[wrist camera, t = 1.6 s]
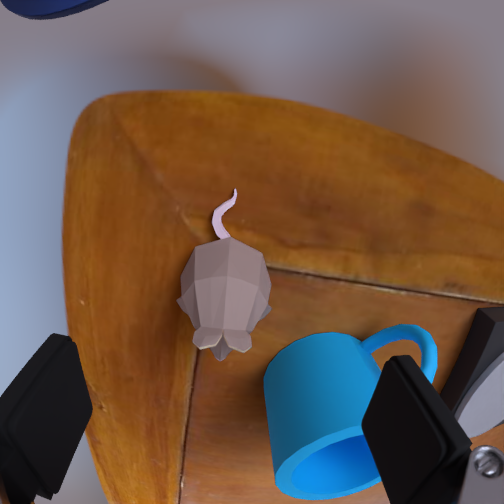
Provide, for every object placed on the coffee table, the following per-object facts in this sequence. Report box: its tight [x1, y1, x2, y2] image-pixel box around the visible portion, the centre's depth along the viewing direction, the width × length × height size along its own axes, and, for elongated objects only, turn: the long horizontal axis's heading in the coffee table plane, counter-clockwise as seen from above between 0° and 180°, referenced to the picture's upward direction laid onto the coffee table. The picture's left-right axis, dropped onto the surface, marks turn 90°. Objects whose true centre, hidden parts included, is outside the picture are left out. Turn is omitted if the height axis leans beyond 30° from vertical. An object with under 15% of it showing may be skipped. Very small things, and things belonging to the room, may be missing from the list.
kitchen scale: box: [440, 307, 504, 438], centre depth 22 cm, size 15×13×3 cm
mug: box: [263, 324, 437, 500], centre depth 17 cm, size 12×8×8 cm
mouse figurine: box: [176, 188, 272, 361], centre depth 15 cm, size 5×8×7 cm, turn 173°
